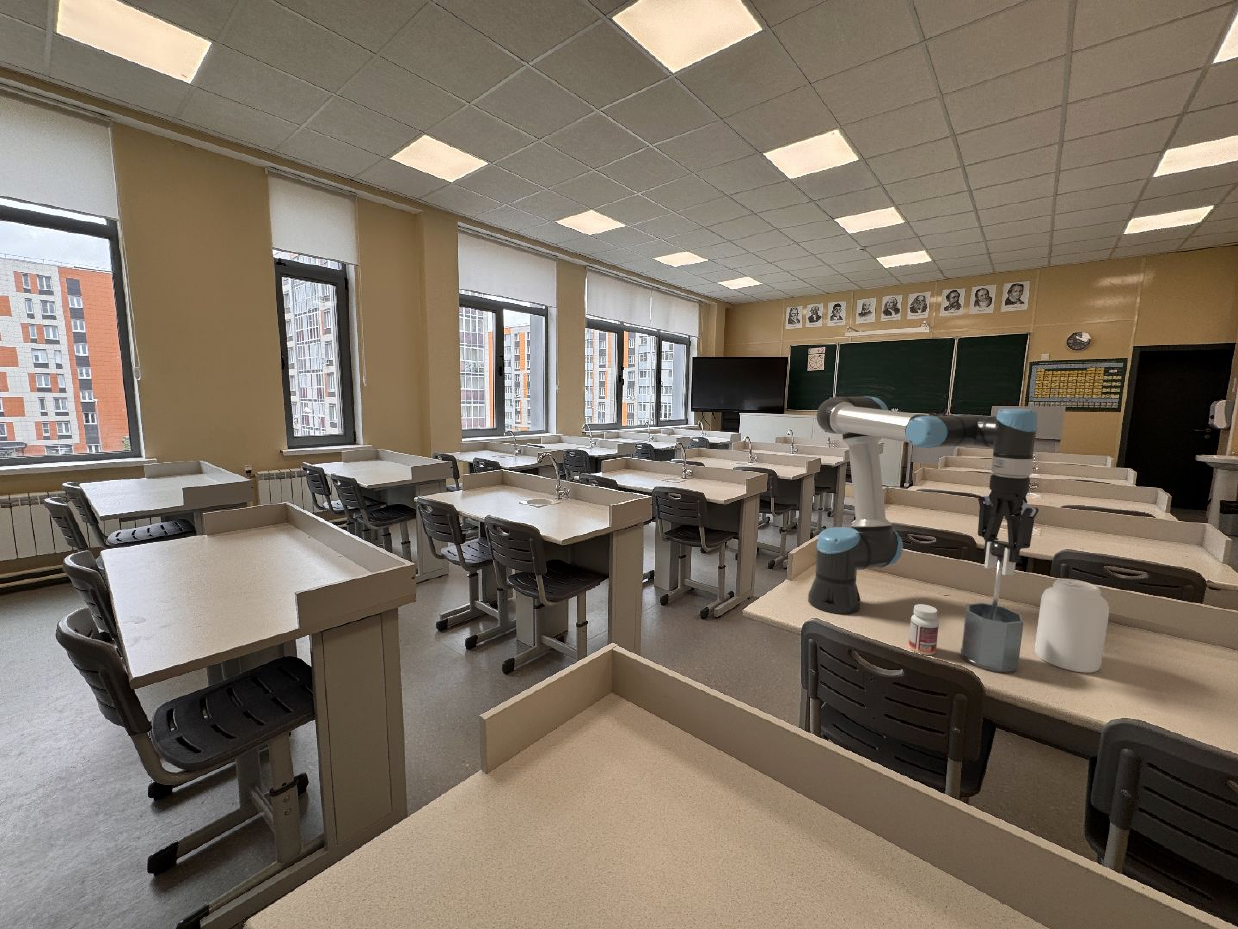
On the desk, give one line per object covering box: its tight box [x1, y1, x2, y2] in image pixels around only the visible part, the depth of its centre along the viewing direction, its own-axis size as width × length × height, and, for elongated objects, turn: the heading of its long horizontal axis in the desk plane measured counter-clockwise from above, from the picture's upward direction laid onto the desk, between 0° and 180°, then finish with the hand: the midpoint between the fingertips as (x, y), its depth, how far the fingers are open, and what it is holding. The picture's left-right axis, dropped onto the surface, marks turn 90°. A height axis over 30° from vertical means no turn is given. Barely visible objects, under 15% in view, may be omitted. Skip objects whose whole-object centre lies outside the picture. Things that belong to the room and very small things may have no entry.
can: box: [1034, 578, 1110, 674], centre depth 128 cm, size 12×12×20 cm
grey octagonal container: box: [960, 602, 1025, 674], centre depth 129 cm, size 12×14×12 cm
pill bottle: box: [908, 603, 939, 656], centre depth 134 cm, size 6×6×11 cm
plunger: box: [991, 540, 1009, 621], centre depth 127 cm, size 8×8×23 cm
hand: (999, 570), depth 126 cm, fingers closed on plunger, 4 cm apart
